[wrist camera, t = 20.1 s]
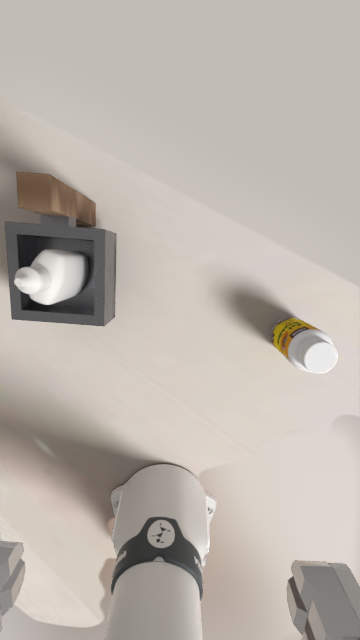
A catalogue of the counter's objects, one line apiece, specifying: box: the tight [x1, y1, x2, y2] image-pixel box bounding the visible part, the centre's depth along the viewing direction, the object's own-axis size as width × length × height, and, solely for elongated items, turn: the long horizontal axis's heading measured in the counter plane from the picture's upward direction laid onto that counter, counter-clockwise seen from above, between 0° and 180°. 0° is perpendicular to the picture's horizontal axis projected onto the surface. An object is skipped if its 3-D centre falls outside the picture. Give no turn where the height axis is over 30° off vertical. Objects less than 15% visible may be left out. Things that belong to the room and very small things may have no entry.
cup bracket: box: [5, 172, 116, 326], centre depth 32 cm, size 15×11×13 cm
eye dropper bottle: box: [14, 249, 89, 305], centre depth 28 cm, size 4×6×12 cm
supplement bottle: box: [271, 317, 338, 374], centre depth 36 cm, size 6×6×10 cm
